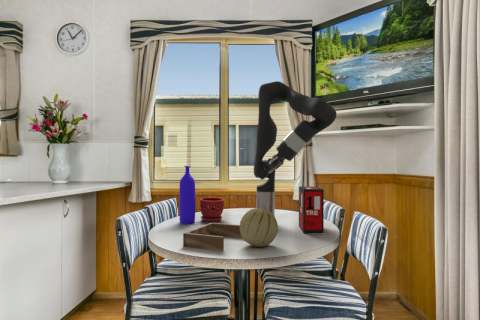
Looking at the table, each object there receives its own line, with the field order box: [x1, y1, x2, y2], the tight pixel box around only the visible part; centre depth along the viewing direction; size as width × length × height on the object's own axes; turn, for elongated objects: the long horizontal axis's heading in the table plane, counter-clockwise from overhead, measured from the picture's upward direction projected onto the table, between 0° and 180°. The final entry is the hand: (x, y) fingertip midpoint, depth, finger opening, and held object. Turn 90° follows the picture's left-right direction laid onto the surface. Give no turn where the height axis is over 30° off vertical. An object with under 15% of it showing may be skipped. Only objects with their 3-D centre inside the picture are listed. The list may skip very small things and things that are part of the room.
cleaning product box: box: [298, 186, 325, 235], centre depth 158 cm, size 16×9×20 cm, turn 178°
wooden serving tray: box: [182, 222, 242, 252], centre depth 135 cm, size 23×17×5 cm
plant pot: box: [199, 197, 225, 223], centre depth 182 cm, size 13×13×12 cm
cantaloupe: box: [239, 207, 279, 248], centre depth 128 cm, size 15×15×15 cm
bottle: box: [178, 165, 196, 225], centre depth 175 cm, size 8×8×30 cm
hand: (260, 177), depth 128 cm, fingers closed
